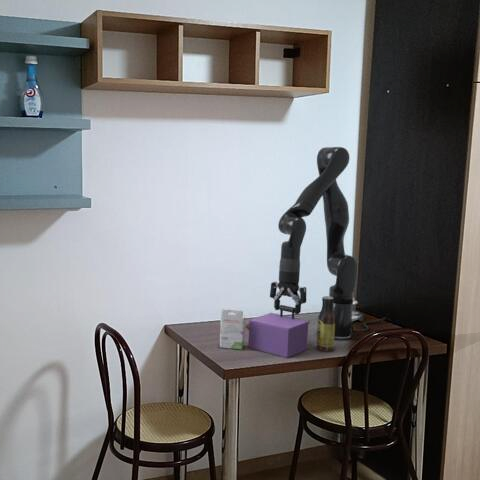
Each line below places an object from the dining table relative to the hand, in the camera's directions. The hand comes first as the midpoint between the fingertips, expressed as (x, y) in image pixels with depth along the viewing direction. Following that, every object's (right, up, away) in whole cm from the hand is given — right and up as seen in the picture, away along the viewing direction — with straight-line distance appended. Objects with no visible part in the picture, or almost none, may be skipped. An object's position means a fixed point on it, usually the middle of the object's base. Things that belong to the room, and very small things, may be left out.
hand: (286, 311), depth 242 cm
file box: (-4, -13, -2) cm, 14 cm away
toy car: (+33, -8, +40) cm, 52 cm away
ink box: (-21, -13, -2) cm, 25 cm away
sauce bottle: (+14, -14, -2) cm, 20 cm away
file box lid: (-4, -4, -3) cm, 6 cm away
